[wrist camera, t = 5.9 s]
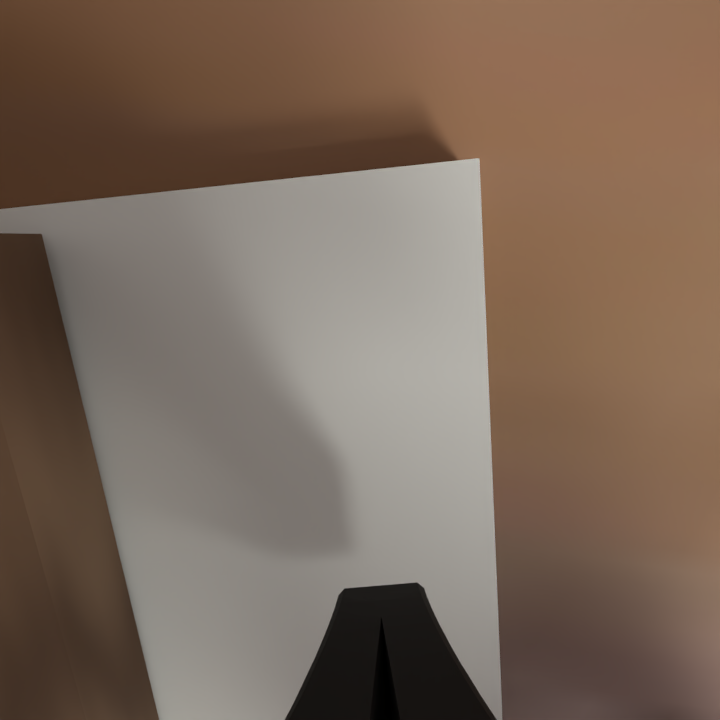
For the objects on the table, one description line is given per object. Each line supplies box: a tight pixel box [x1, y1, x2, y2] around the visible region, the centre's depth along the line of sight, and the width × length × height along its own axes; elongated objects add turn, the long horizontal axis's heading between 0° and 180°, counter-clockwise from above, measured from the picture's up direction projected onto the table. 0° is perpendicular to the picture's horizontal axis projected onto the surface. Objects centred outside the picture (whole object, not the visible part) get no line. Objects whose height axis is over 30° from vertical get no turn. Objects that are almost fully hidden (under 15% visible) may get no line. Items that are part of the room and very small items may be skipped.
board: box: [0, 158, 503, 720], centre depth 9 cm, size 15×18×5 cm
